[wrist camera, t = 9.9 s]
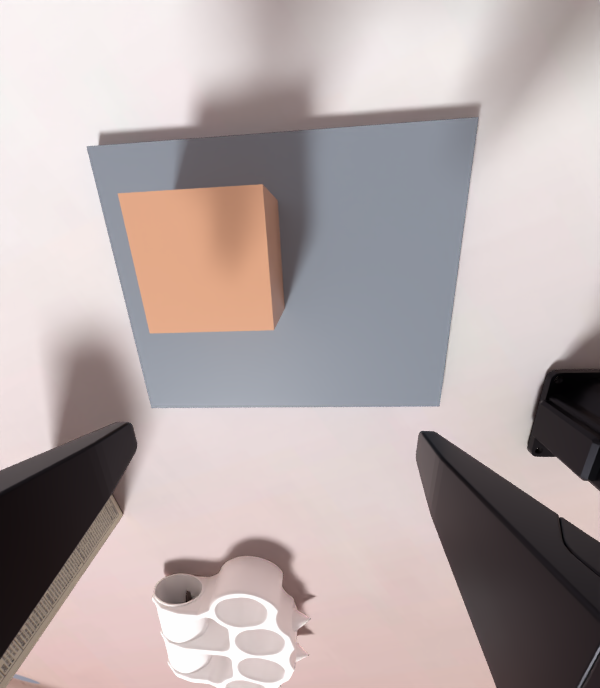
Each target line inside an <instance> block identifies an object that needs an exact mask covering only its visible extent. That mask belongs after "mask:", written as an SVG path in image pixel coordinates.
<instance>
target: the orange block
mask: <svg viewBox="0 0 600 688" xmlns="http://www.w3.org/2000/svg"><path fill="white" fill-rule="evenodd" d="M118 197H119V202H120V206H121V210H122V215H123V219H124V224H125V228H126V232H127V237H128V241H129V245H130V250H131V254H132V258H133V263H134V267H135V271H136V276H137V280H138V285H139V289H140V293H141V298H142V302H143V306H144V311H145V315H146V319H147V324H148V328H149V332H150V333H188V332H226V331H264V330H274V329H275V327H276V325H277V323H278V321H279V319H280V317H281V315H282V313H283V311H284V309H285V306H284V291H283V275H282V259H281V244H280V228H279V212H278V200H277V199H276V198H275V197H274V196H273V195H272V194H271V193H270V192H269V191H268V189H267V188H266V187H265V186H264V185H263V184H258V185H242V186H226V187H210V188H195V189H179V190H163V191H147V192H131V193H118Z"/></svg>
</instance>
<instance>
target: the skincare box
mask: <svg viewBox="0 0 600 688" xmlns="http://www.w3.org/2000/svg"><path fill="white" fill-rule="evenodd" d="M122 516H123V514H122V512H121V510H120V508H119V506H118V504H117V502H116V501H115V499H114V497H113V495H111V496H110V498H109V500H108V501H107V503H106V504H105V506H104V507H103V509H102V510H101V512H100V513H99V515H98V516H97V518H96V519H95V520H94V522H93V523H92V525H91V526H90V528H89V529H88V531H87V532H86V534H85V535H84V537H83V538H82V540H81V541H80V543H79V544H78V546H77V547H76V549H75V550H74V551H73V553H72V554H71V556H70V557H69V559H68V560H67V562H66V563H65V565H64V566H63V568H62V569H61V571H60V572H59V574H58V575H57V577H56V578H55V580H54V581H53V583H52V584H51V585H50V587H49V588H48V590H47V591H46V593H45V594H44V596H43V597H42V599H41V600H40V602H39V603H38V605H37V606H36V608H35V609H34V611H33V612H32V614H31V615H30V616H29V618H28V619H27V621H26V622H25V624H24V625H23V627H22V628H21V630H20V631H19V633H18V634H17V636H16V637H15V639H14V640H13V642H12V643H11V645H10V646H9V647H8V649H7V650H6V652H5V653H4V655H3V656H2V658H1V659H0V688H6V687H7V685H8V684H9V682H10V681H11V679H12V678H13V676H14V675H15V673H16V672H17V670H18V669H19V667H20V666H21V664H22V663H23V661H24V660H25V659H26V657H27V656H28V654H29V653H30V651H31V650H32V648H33V647H34V645H35V644H36V642H37V641H38V640H39V638H40V637H41V635H42V634H43V632H44V631H45V629H46V628H47V626H48V625H49V624H50V622H51V621H52V619H53V618H54V616H55V615H56V613H57V612H58V610H59V609H60V607H61V606H62V604H63V603H64V601H65V600H66V599H67V597H68V596H69V594H70V593H71V591H72V590H73V588H74V587H75V585H76V584H77V582H78V581H79V579H80V578H81V576H82V575H83V573H84V572H85V571H86V569H87V568H88V566H89V565H90V563H91V562H92V560H93V559H94V557H95V556H96V554H97V553H98V552H99V550H100V549H101V547H102V546H103V544H104V543H105V541H106V540H107V538H108V537H109V535H110V534H111V532H112V531H113V530H114V528H115V527H116V525H117V524H118V522H119V521H120V519H121V518H122Z"/></svg>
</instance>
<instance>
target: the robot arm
mask: <svg viewBox="0 0 600 688" xmlns="http://www.w3.org/2000/svg"><path fill="white" fill-rule="evenodd" d="M557 377H558V379H556V378H557ZM555 379H556V380H555ZM537 448H538V449H537ZM136 449H137V441H136V437H135V433H134V429H133V425H132V424H131V423H129V422H116V423H114V424H111V425H109V426H106V427H104V428H102V429H99V430H97V431H94V432H92V433H90V434H87V435H85V436H82V437H80V438H78V439H75V440H73V441H70V442H68V443H66V444H63V445H61V446H58V447H56V448H53V449H51V450H49V451H46V452H44V453H41V454H39V455H37V456H34V457H32V458H29V459H27V460H25V461H22V462H20V463H17V464H15V465H13V466H10V467H8V468H5V469H3V470H1V471H0V659H1V658H2V656H3V655H4V653H5V652H6V650H7V649H8V647H9V646H10V645H11V643H12V642H13V640H14V639H15V637H16V636H17V634H18V633H19V631H20V630H21V628H22V627H23V625H24V624H25V622H26V621H27V619H28V618H29V616H30V615H31V614H32V612H33V611H34V609H35V608H36V606H37V605H38V603H39V602H40V600H41V599H42V597H43V596H44V594H45V593H46V591H47V590H48V588H49V587H50V585H51V584H52V583H53V581H54V580H55V578H56V577H57V575H58V574H59V572H60V571H61V569H62V568H63V566H64V565H65V563H66V562H67V560H68V559H69V557H70V556H71V554H72V553H73V551H74V550H75V549H76V547H77V546H78V544H79V543H80V541H81V540H82V538H83V537H84V535H85V534H86V532H87V531H88V529H89V528H90V526H91V525H92V523H93V522H94V520H95V519H96V518H97V516H98V515H99V513H100V512H101V510H102V509H103V507H104V506H105V504H106V503H107V501H108V500H109V498H110V496H111V495H112V493H113V491H114V490H115V488H116V486H117V484H118V483H119V481H120V479H121V477H122V475H123V474H124V472H125V470H126V468H127V466H128V465H129V463H130V461H131V459H132V457H133V456H134V454H135V452H136ZM527 449H528V451H529V452H530V453H531V454H532V455H533V456H537V457H557V458H558V459H559V460H560V461H562V462H563V463H564V464H565V465H566V466H567V467H568V468H569V469H571V470H572V471H573V472H574V473H575V474H576V475H577V476H578V477H579V478H581V479H582V480H584V481H589V482H590V483H591V484H592V485H593V486H595V487H596V488H597V489H598V490H599V491H600V369H599V370H554V371H551V372H549V373H548V374H547V376H546V379H545V383H544V387H543V390H542V394H541V398H540V402H539V405H538V409H537V413H536V417H535V420H534V424H533V428H532V432H531V435H530V439H529V443H528V447H527ZM416 461H417V465H418V469H419V473H420V477H421V481H422V484H423V488H424V492H425V496H426V500H427V503H428V507H429V510H430V514H431V517H432V519H433V522H434V525H435V527H436V530H437V533H438V535H439V538H440V541H441V543H442V546H443V548H444V551H445V554H446V556H447V559H448V562H449V564H450V567H451V569H452V572H453V575H454V577H455V580H456V583H457V585H458V588H459V590H460V593H461V596H462V598H463V601H464V603H465V606H466V609H467V611H468V614H469V617H470V619H471V622H472V624H473V627H474V630H475V632H476V635H477V638H478V640H479V643H480V645H481V648H482V651H483V653H484V656H485V659H486V661H487V664H488V666H489V669H490V672H491V674H492V677H493V679H494V682H495V685H496V687H497V688H600V542H598V541H597V540H595V539H594V538H592V537H591V536H589V535H588V534H586V533H585V532H583V531H582V530H580V529H579V528H577V527H576V526H574V525H573V524H571V523H570V522H568V521H567V520H565V519H564V518H562V517H560V518H559V516H558V514H556V513H555V512H553V511H552V510H550V509H549V508H547V507H546V506H544V505H543V504H541V503H540V502H539V501H537V500H536V499H534V498H533V497H531V496H530V495H528V494H527V493H525V492H524V491H522V490H521V489H519V488H518V487H516V486H515V485H513V484H512V483H510V482H509V481H507V480H506V479H504V478H503V477H501V476H500V475H498V474H497V473H495V472H494V471H493V470H491V469H490V468H488V467H487V466H485V465H484V464H482V463H481V462H479V461H478V460H476V459H475V458H473V457H472V456H470V455H469V454H467V453H466V452H464V451H463V450H461V449H460V448H458V447H457V446H455V445H454V444H452V443H451V442H449V441H448V440H447V439H445V438H444V437H442V436H441V435H439V434H438V433H436V432H434V431H421V432H420V433H419V436H418V443H417V450H416Z"/></svg>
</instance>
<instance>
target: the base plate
mask: <svg viewBox="0 0 600 688" xmlns="http://www.w3.org/2000/svg"><path fill="white" fill-rule="evenodd" d="M477 125H478V117H474V118H460V119H447V120H434V121H420V122H407V123H394V124H380V125H367V126H353V127H340V128H327V129H313V130H300V131H287V132H273V133H260V134H246V135H233V136H220V137H206V138H193V139H180V140H166V141H153V142H140V143H126V144H113V145H99V146H87V150H88V154H89V158H90V162H91V166H92V170H93V174H94V178H95V182H96V186H97V190H98V195H99V199H100V203H101V207H102V211H103V215H104V219H105V223H106V227H107V231H108V235H109V239H110V243H111V247H112V251H113V255H114V259H115V263H116V267H117V271H118V275H119V279H120V283H121V287H122V291H123V295H124V299H125V303H126V307H127V311H128V315H129V319H130V323H131V327H132V331H133V335H134V339H135V343H136V347H137V351H138V355H139V359H140V363H141V368H142V372H143V376H144V380H145V384H146V388H147V392H148V396H149V400H150V404H151V408H230V407H401V406H439V405H440V398H441V391H442V383H443V376H444V369H445V361H446V354H447V346H448V339H449V332H450V324H451V317H452V309H453V302H454V295H455V287H456V280H457V272H458V265H459V258H460V250H461V243H462V235H463V228H464V221H465V213H466V206H467V199H468V191H469V184H470V176H471V169H472V162H473V154H474V147H475V139H476V132H477ZM258 184H263V185H264V186H265V187H266V188H267V189H268V191H269V192H270V193H271V194H272V195H273V196H274V197H275V198H276V199H277V200H278V212H279V228H280V244H281V259H282V275H283V291H284V306H285V309H284V311H283V313H282V315H281V317H280V319H279V321H278V323H277V325H276V327H275V329H274V330H264V331H226V332H188V333H150V332H149V328H148V324H147V319H146V315H145V311H144V306H143V302H142V298H141V293H140V289H139V285H138V280H137V276H136V271H135V267H134V263H133V258H132V254H131V250H130V245H129V241H128V237H127V232H126V228H125V224H124V219H123V215H122V210H121V206H120V202H119V197H118V193H131V192H147V191H163V190H179V189H195V188H210V187H226V186H242V185H258Z"/></svg>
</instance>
